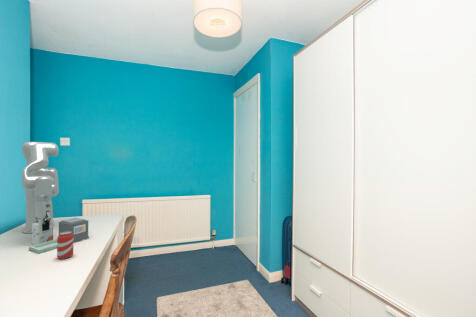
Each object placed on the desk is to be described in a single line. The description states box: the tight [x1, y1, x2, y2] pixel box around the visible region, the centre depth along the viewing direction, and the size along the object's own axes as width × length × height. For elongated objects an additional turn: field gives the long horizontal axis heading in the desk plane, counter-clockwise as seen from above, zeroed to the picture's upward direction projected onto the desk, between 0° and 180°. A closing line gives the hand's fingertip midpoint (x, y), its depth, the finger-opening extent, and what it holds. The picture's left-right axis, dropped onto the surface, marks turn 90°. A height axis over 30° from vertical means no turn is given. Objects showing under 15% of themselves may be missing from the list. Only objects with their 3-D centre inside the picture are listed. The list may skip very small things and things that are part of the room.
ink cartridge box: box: [31, 217, 54, 246], centre depth 130 cm, size 9×5×15 cm, turn 168°
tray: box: [28, 239, 57, 254], centre depth 123 cm, size 10×14×2 cm
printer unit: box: [57, 217, 89, 243], centre depth 136 cm, size 12×10×12 cm
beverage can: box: [56, 231, 75, 260], centre depth 111 cm, size 6×6×12 cm
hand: (42, 229), depth 130 cm, fingers closed on ink cartridge box, 5 cm apart
